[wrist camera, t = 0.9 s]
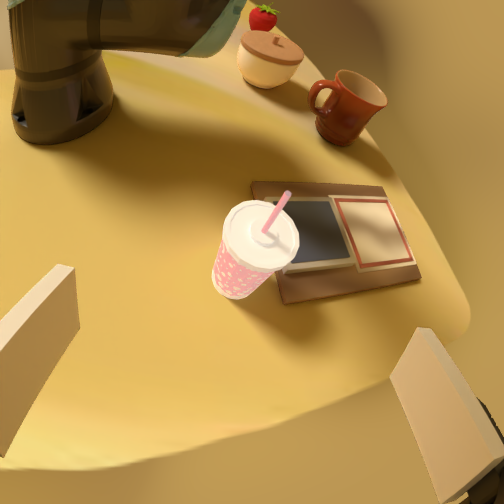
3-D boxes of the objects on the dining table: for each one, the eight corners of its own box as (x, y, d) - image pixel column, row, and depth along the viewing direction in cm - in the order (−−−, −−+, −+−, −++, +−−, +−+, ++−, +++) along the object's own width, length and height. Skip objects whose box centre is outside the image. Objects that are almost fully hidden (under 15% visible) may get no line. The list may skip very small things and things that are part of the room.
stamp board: (250, 185, 39) (255, 175, 37) (379, 189, 46) (386, 182, 45) (283, 304, 33) (291, 298, 31) (418, 280, 40) (427, 274, 39)
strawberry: (264, 33, 63) (278, -2, 55) (271, 47, 60) (287, 9, 51) (240, 28, 61) (253, -7, 53) (245, 42, 58) (260, 3, 49)
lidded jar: (295, 82, 54) (315, 42, 47) (276, 105, 49) (297, 59, 41) (245, 58, 54) (260, 18, 46) (219, 77, 48) (233, 31, 40)
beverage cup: (228, 239, 34) (274, 145, 23) (274, 276, 34) (342, 197, 22) (191, 279, 31) (222, 189, 19) (240, 319, 31) (303, 253, 19)
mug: (343, 119, 53) (371, 77, 44) (363, 155, 49) (397, 111, 41) (284, 109, 49) (309, 59, 40) (300, 147, 45) (331, 94, 36)
